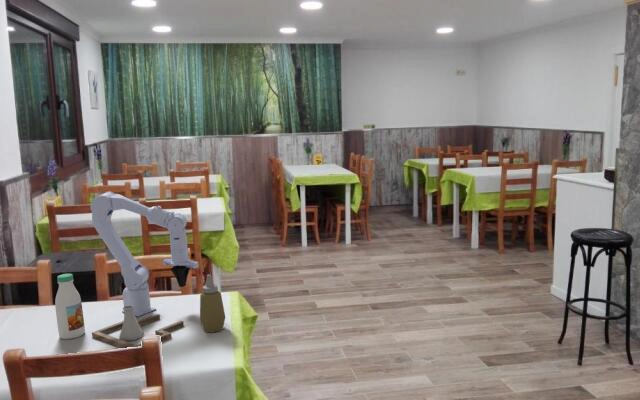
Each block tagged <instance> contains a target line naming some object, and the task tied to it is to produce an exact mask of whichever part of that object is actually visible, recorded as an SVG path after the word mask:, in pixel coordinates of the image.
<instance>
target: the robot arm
mask: <svg viewBox="0 0 640 400" xmlns="http://www.w3.org/2000/svg"><path fill="white" fill-rule="evenodd" d="M90 204H91V205H90V207H89V208H90V210H91V222H92V225H93V227H94V229H95V230H96V232H97V233H98V235H99V237H100V238H101V239H102V241H103V242H104V244H105V246H106V247H107V248H108V250H109V252H110V253H111V254H112V256H113V257H114V259H115V260H116V262H117V264H118V265H119V266H120V270H121V276H122V277H123V281H124V285H125V286H126V287H125V288H124V289H123V291H122V302H123V303H122V304H123V307H125V306H127V305H133V306H134V308H133V311H134V315H135V317H139V316H142V315H143V316H144V315H145V314H148V313H151V312H153V311H157V307H154V306H151V296H150V286H149V283H148V281H147V280H148V279H149V277H150V271H149V269H148V268H147V267H146V266H144V265H142V264H141V262H140V260H137V259H135V257H134V256H133V254H132V253H131V252H130V250H129V248H128V247H127V245H126V243H125V242H124V240H123V239H122V238H121V236H120V235H119V233H118V232H117V230H116V229H115V227H114V225H113V224H112V222H111V219H112V215H113V213H114V212H115V211H121V210H126V211H128V212H132V213H134V214H138V215H141V216H143V217H146V220H147V222H150V223H152V224H154V225H156V226H159V227H162V228H166V229H167V230H168V232H169V242H170V255H171V258H165V259H163V260H162V265H163V266H172V267H171V268H170V271H171V273H172V274H173V276H174V277H175V279H176V282H177V285H178V287H179V288H184V287H185V286H186V285H187V279H188V276H189V272H190V271H191V269H194V270H195V269H198V268H199V261H194V260H191V259H189V250H188V237H187V231H186V226H187V222H188V221H187V219H186V217H185V215H182V214H181V213H179V212H178V213H175V211H169V210H166V209H163V208H162V206H160V205H157V206H156V205H154V206H151V207H148V206H146V205H144V204H142V203H139V202H137V201H135V200H133V199H131V198H129V197H126V196H124V195H122V194H119V193H115V192H113V191H106V192H104V193H102V194H100V195H97V196H95V197H94V198H93V200H92V202H91V203H90ZM121 312H123V313H124V310H123V309H122V310H121Z"/></svg>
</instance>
